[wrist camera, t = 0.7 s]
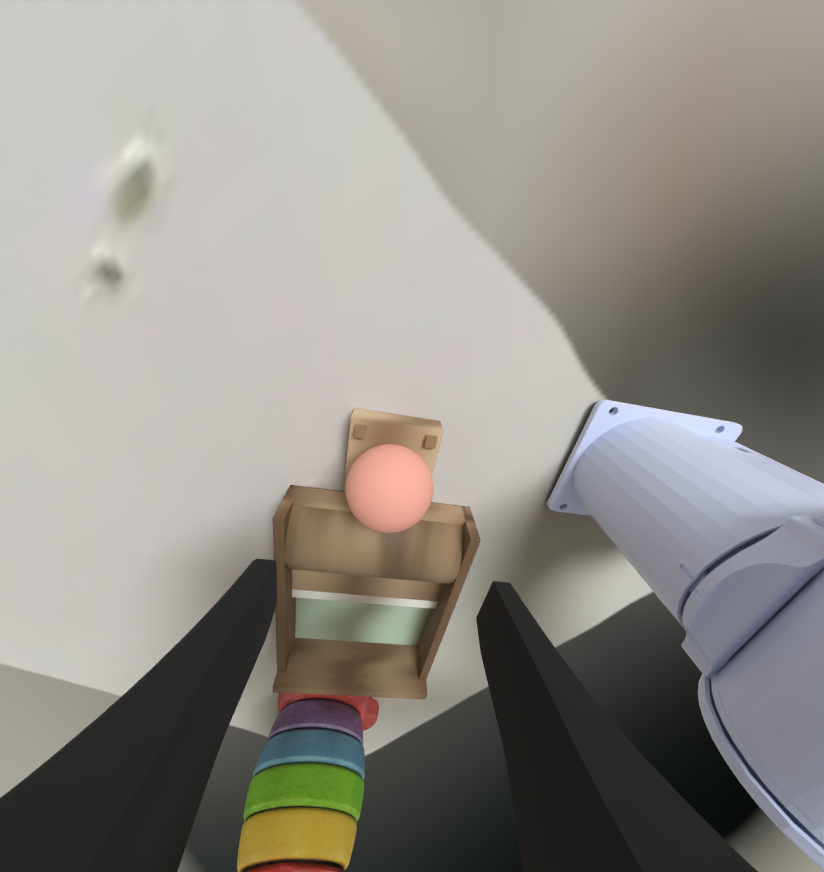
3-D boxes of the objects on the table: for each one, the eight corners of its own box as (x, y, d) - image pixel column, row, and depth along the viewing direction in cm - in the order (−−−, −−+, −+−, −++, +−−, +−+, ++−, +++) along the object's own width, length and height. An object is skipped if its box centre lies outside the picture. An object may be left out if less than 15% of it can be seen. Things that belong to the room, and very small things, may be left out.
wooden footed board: (440, 421, 18) (444, 435, 16) (423, 489, 20) (425, 507, 18) (354, 407, 17) (349, 421, 15) (346, 479, 19) (342, 497, 18)
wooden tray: (461, 481, 23) (484, 554, 17) (419, 614, 31) (425, 699, 25) (303, 460, 22) (265, 531, 16) (299, 605, 29) (272, 692, 23)
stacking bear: (380, 713, 34) (363, 1091, 18) (289, 717, 34) (190, 1107, 18) (375, 660, 29) (346, 1117, 13) (268, 664, 29) (106, 1140, 13)
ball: (436, 436, 16) (448, 483, 13) (420, 498, 18) (426, 557, 14) (356, 423, 16) (342, 469, 12) (348, 489, 18) (334, 548, 14)
